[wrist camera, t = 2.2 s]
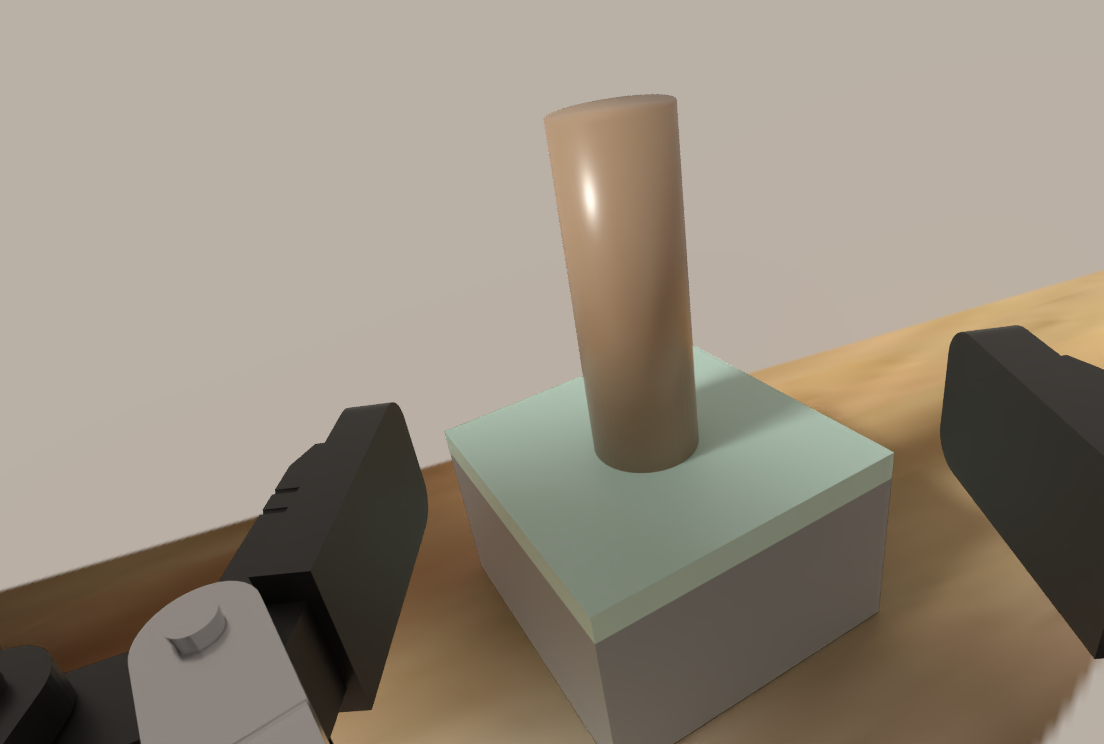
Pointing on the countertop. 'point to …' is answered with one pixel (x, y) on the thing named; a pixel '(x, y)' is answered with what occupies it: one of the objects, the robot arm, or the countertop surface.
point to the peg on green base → (647, 402)
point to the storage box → (696, 622)
